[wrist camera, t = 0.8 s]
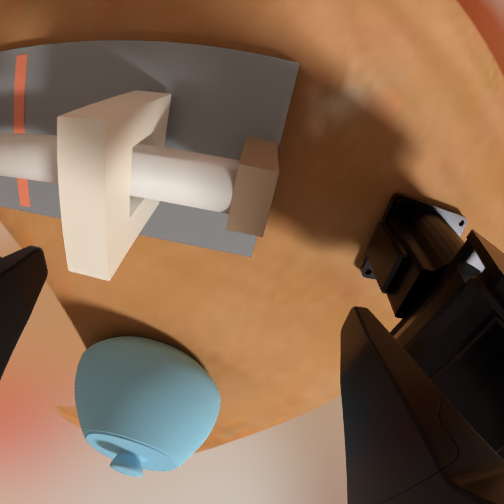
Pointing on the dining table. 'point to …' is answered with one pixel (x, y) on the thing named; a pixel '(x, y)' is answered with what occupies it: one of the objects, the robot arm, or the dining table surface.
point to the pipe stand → (177, 134)
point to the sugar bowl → (144, 403)
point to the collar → (105, 177)
